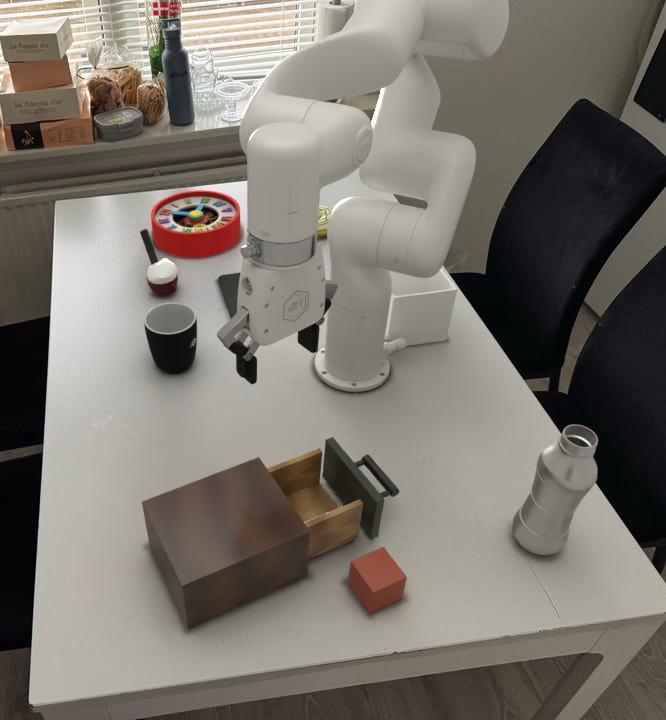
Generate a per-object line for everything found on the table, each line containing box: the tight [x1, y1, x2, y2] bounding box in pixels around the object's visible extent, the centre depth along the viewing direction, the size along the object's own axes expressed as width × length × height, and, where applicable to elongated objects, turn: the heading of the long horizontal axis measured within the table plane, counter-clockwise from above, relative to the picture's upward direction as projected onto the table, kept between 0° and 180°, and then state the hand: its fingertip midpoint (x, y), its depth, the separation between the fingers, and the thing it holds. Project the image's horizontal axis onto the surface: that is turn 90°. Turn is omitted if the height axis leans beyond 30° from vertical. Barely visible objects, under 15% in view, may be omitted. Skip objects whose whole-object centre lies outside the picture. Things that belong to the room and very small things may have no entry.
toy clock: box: [150, 189, 242, 259], centre depth 155 cm, size 20×6×20 cm
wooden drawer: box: [266, 436, 400, 560], centre depth 92 cm, size 20×12×8 cm, turn 113°
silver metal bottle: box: [512, 424, 599, 556], centre depth 84 cm, size 6×7×20 cm
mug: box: [143, 302, 198, 375], centre depth 121 cm, size 12×9×10 cm
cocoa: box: [139, 228, 179, 297], centre depth 137 cm, size 10×6×12 cm, turn 12°
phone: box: [217, 271, 241, 319], centre depth 137 cm, size 7×1×15 cm
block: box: [347, 546, 408, 614], centre depth 85 cm, size 5×5×5 cm
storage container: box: [385, 267, 458, 347], centre depth 128 cm, size 25×11×11 cm, turn 7°
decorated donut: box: [317, 204, 333, 238], centre depth 154 cm, size 10×11×4 cm
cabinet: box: [141, 456, 310, 630], centre depth 88 cm, size 17×13×10 cm
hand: (277, 362), depth 86 cm, fingers open, 9 cm apart
